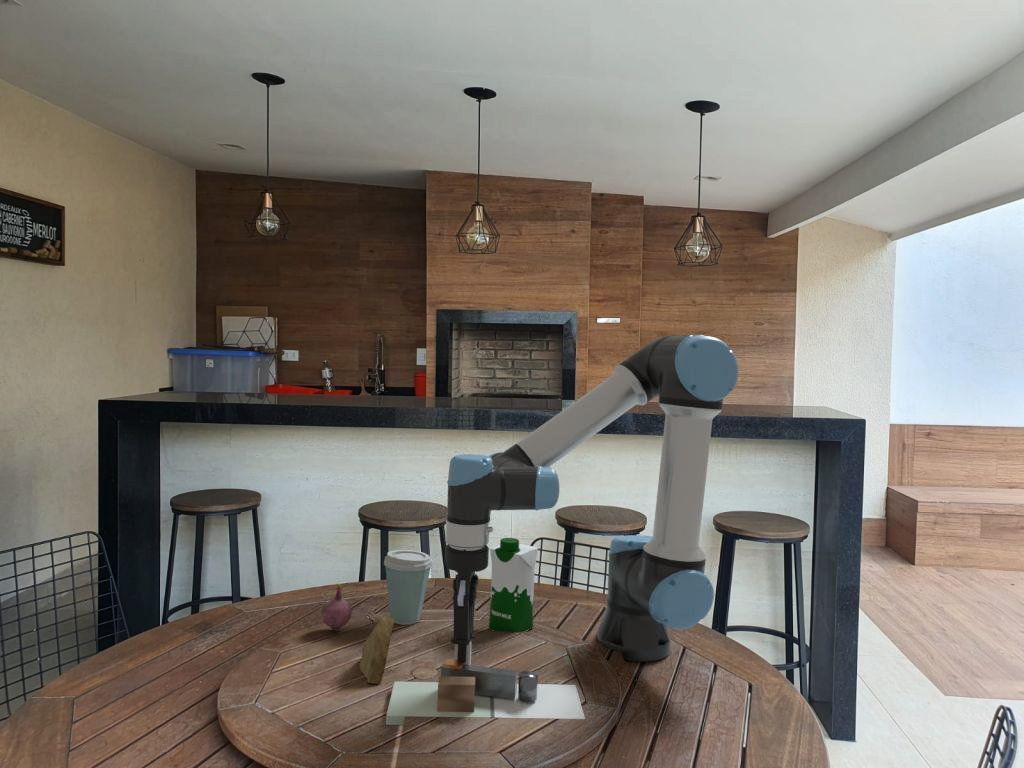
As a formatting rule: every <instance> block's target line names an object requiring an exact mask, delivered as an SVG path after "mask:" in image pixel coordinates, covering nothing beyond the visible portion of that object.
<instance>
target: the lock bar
mask: <svg viewBox="0 0 1024 768" xmlns="http://www.w3.org/2000/svg"><path fill="white" fill-rule="evenodd" d="M518 673H519V674H518ZM440 676H454V677H475V694H478V695H486V696H494V697H502V698H510V699H515V697H516V694H517V684H519V685H518V699H519V700H520V701H522V702H534V701H536V700H537V684H539V683H538V679H539V678H538V677H539V675H538V673H537V672H536V671H532V670H522V671H519V672H518V670H513V669H506V668H505V669H504V668H496V667H487V666H479V665H472V664H471V665H464V663H458V662H457V660H454V659H451V658H446V660H445V661H444V662H443V663H442V665H440Z"/></svg>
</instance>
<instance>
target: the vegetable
mask: <svg viewBox="0 0 1024 768" xmlns="http://www.w3.org/2000/svg"><path fill="white" fill-rule="evenodd" d="M336 587H337V588H336V593H335V594H336V595H335V597H334V598H333V599H330V600H329V601H327V602H326V604H324V605H323V607H322V608H321V612H320V613H321V614H320V615H321V620H322V622H323V623H324V624H325V626H327V627H329V628H331V629H332V630H333V631H338V630H340V628H342V627H344V626H346V625H347V624H348V622H349V621H350V619H351V617H352V613H353V611H352V610H353V609H352V607H351V605H350V604H349V602H347V601H346V600H345V599H343V598H342V586H341V583H340V582H337V584H336Z"/></svg>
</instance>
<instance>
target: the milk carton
mask: <svg viewBox="0 0 1024 768" xmlns="http://www.w3.org/2000/svg"><path fill="white" fill-rule="evenodd" d="M489 551H490V559H491V581H490V602H489V619H488V620H489V621H488V622H489V623H488V630H489V629H490V630H494V631H493V632H510V633H511V632H512V633H513V632H515V633H516V632H517V633H525V632H524V631H526V630H528V629H530V628H532V627H533V628H534V611H533V610H534V589H535V586H534V585H535V569H536V562H537V556H538V551H539V547H537V546H532V545H528V544H522V543H520V540H519V539H518V538H513V537H504V538H501V539H500V543H499V544H498V545H496V546H493V547H491V548H489ZM533 628H532V629H533ZM490 630H489V631H490Z"/></svg>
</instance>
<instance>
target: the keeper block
mask: <svg viewBox="0 0 1024 768" xmlns="http://www.w3.org/2000/svg"><path fill="white" fill-rule="evenodd" d="M474 702H475V677H454V676H441V675H439V676H438V702H437V712H474Z"/></svg>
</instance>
